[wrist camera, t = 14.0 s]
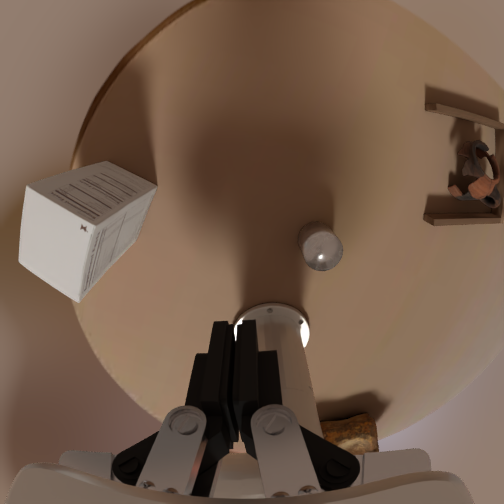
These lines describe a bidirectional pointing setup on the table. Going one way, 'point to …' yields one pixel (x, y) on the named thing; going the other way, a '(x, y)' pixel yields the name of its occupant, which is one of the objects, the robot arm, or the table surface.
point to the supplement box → (81, 224)
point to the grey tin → (320, 246)
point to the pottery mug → (478, 176)
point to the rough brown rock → (352, 434)
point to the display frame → (499, 213)
